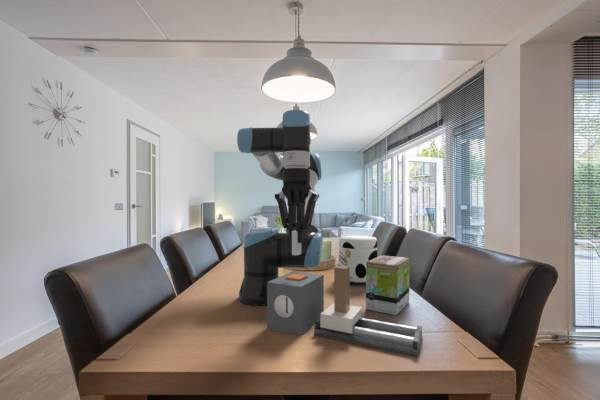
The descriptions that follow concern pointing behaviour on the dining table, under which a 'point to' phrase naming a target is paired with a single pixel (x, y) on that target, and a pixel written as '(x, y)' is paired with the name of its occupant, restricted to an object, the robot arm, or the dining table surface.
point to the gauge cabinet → (295, 303)
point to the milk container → (357, 255)
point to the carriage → (341, 304)
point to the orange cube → (296, 277)
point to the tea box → (387, 284)
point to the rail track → (378, 335)
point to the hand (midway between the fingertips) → (296, 254)
